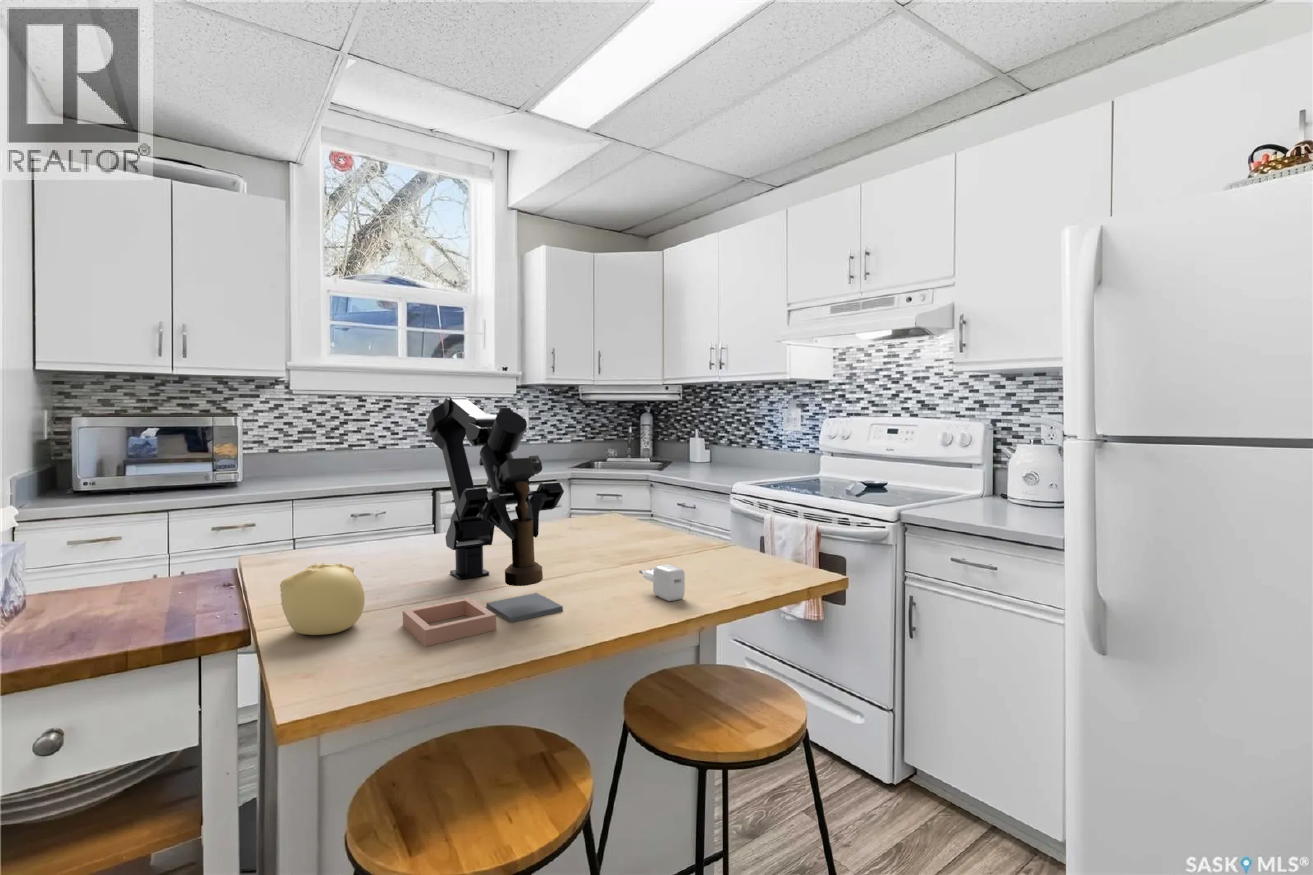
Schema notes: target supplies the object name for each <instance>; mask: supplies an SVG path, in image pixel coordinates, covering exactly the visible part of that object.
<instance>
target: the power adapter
mask: <svg viewBox="0 0 1313 875" xmlns="http://www.w3.org/2000/svg"><path fill="white" fill-rule="evenodd" d="M638 571H639V572H638V573H639V574H642V575H643V578H644V579H645V580H647V581H649V582H651V583H652V586H653V587H652V588H653V590H652V591H653V594H654V595H655V597H658V598H660V599H662V600H665V601H667V602H672V601H678V600H682V599H684V597H685V591H686V590H685V587H686V584H685V583H686V582H685V579H686V578H685V576H686V575H685V571H684V569H682V568H680V567H677V566H675V565H672V564H670V563H666V564H660V565H655V566H654V567H651V568H649V569H647V570H643V569H640V570H638Z"/></svg>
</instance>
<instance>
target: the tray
mask: <svg viewBox="0 0 1313 875" xmlns="http://www.w3.org/2000/svg"><path fill="white" fill-rule="evenodd" d="M461 616H466V617H467V618H463V619H459V620H455V621H454V620H453V621H450V622H444V623H440V624H436V625H431V626H430V624H428V623H433V622H437V621H442V620H446V619H451V618H455V617H456V618H457V617H461ZM402 627H404V628H405V629H406V630H407V631H408V632H409V633H410V634H412V635H413V637H415V638H416V639H417V641H419V642H420V643H421V644H423V646H425V647H429V646H432V645H433V646H434V645H438V644H442V643H445V642H450V641H454V640H460V639H462V638H467V637H471V636H475V635H476V636H477V635H480V634H481V635H482V634H484V633H489V632H494V631H497V614H496V613H495V612H493V611H491V610H490V609H488V608H487V607H485V606H484V605H483V604H480V603H479V602H477V601H475V600H474V599H472V598H471V597H465V598H460V599H455V600H451V601H445V602H440V603H435V604H430V605H424V606H419V607H415V608H409V609H404V610H402Z"/></svg>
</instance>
